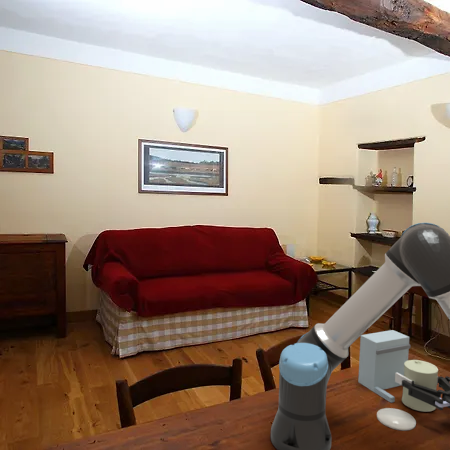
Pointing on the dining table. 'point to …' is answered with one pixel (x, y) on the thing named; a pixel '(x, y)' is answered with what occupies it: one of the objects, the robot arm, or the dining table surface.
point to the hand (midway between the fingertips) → (407, 374)
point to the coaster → (396, 419)
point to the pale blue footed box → (382, 360)
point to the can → (419, 382)
